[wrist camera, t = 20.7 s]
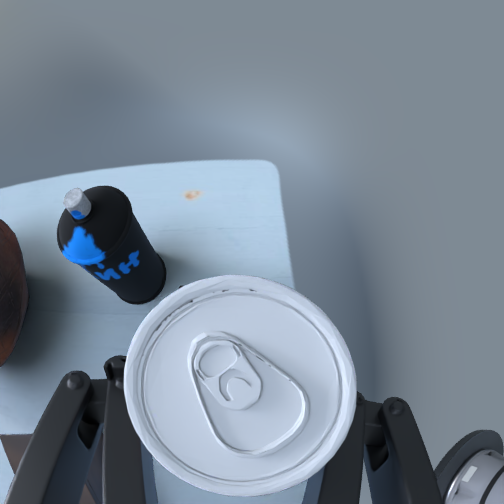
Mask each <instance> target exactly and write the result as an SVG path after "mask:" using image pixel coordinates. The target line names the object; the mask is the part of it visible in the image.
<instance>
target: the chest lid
mask: <svg viewBox="0 0 504 504" xmlns="http://www.w3.org/2000/svg"><path fill="white" fill-rule="evenodd" d="M32 435H33V434H0V439H1V441H2V444H3V447H4V450H5V452H6V455H7V457H8V460H9V462H10V465H11V467H12V469H13V472H14V474H15V473H16V471H17V468H18V466H19V463H20V461H21V459H22V457H23V454H24V452H25V450H26V448H27V446H28V443H29V441H30V439H31V437H32ZM79 504H100V503H99V501H98V499H97V498H96V496H95V494H94V492H93V490H92V488H91V486H90V484H89V482H88V480H87V478H86V482H85V485H84V488H83V492H82V495H81V499H80V502H79Z"/></svg>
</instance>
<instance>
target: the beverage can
mask: <svg viewBox="0 0 504 504" xmlns="http://www.w3.org/2000/svg"><path fill="white" fill-rule="evenodd" d="M356 381H357V380H356V374H355V368H354V364H353V361H352V358H351V355H350V352H349V350H348V347H347V345H346V343H345V340H344V339H343V337H342V336H341V334H340V333H339V331H338V329H337V328H336V326H335V325H334V324H333V323H332V321H331V320H330V319H329V318H328V316H327V315H326V314H325V313H324V312H323V311H322V310H321V309H320V308H319V307H318V306H316V305H315V304H314V303H313V302H312V301H310V300H309V299H308V298H307V297H305V296H304V295H302V294H300V293H299V292H297V291H295V290H294V289H292V288H290V287H287V286H285V285H283V284H281V283H278V282H275V281H271V280H268V279H265V278H260V277H255V276H246V275H222V276H216V277H212V278H207V279H202V280H198V281H196V282H193V283H191V284H188V285H185V286H183V287H181V288H180V289H178V290H176V291H175V292H173V293H172V294H170V295H169V296H167V297H166V298H164V299H163V300H162V301H161V302H160V303H159V304H158V305H157V306H156V307H155V308H154V309H152V310H151V311H150V312H149V314H148V315H147V316H146V318H145V319H144V320H143V322H142V323H141V324H140V326H139V327H138V329H137V331H136V333H135V335H134V337H133V339H132V342H131V345H130V347H129V350H128V354H127V358H126V363H125V368H124V393H125V399H126V404H127V409H128V413H129V416H130V418H131V421H132V424H133V426H134V429H135V430H136V432H137V434H138V435H139V437H140V439H141V440H142V442H143V444H144V445H145V447H146V448H147V450H148V451H149V452H150V453H151V454H152V455H153V456H154V457H155V459H156V460H157V461H158V462H159V463H160V464H161V465H162V466H164V467H165V468H166V469H167V470H168V471H170V472H171V473H173V474H174V475H175V476H177V477H178V478H180V479H181V480H183V481H185V482H187V483H189V484H191V485H193V486H195V487H198V488H200V489H203V490H206V491H209V492H213V493H218V494H222V495H227V496H241V497H253V496H261V495H267V494H272V493H277V492H280V491H283V490H285V489H288V488H290V487H293V486H295V485H298V484H300V483H301V482H303V481H305V480H307V479H308V478H310V477H311V476H312V475H314V474H315V473H317V472H318V471H319V470H320V469H321V468H322V467H323V466H324V465H325V464H326V463H327V462H328V461H329V460H330V459H331V458H332V457H333V456H334V455H335V453H336V452H337V450H338V449H339V447H340V446H341V444H342V443H343V441H344V440H345V438H346V436H347V433H348V431H349V428H350V426H351V423H352V421H353V417H354V413H355V408H356V397H357V382H356Z"/></svg>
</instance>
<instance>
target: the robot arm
mask: <svg viewBox="0 0 504 504" xmlns="http://www.w3.org/2000/svg"><path fill="white" fill-rule="evenodd" d="M181 287H183V286H180V287H179V289H180V288H181ZM126 358H127V356H114V357H112V358H110V359H108V360H107V361H106V362H105V365H104V370H105V373H106V376H107V379H90V377H89V376H88V375H87V374H86V373H84V372H82V371H72V372H69V373H68V374H66V375H65V376H64V377H63V379H62V380H61V382H60V384H59V386H58V387H57V389H56V391H55V393H54V395H53V396H52V398H51V400H50V402H49V404H48V406H47V408H46V409H45V411H44V413H43V415H42V417H41V419H40V421H39V423H38V425H37V427H36V429H35V431H34V433H33V435H32V437H31V439H30V441H29V443H28V446H27V448H26V450H25V452H24V454H23V457H22V459H21V461H20V463H19V466H18V468H17V471H16V473H15V475H14V478H13V480H12V483H11V486H10V488H9V491H8V494H7V496H6V499H5V502H4V504H79V502H80V499H81V495H82V492H83V488H84V485H85V482H86V478H87V475H88V472H89V469H90V466H91V462H92V459H93V456H94V453H95V450H96V447H97V444H98V442H99V439H100V436H101V433H102V430H103V427H104V432H103V455H102V490H103V504H158V501H157V494H156V487H155V479H154V470H153V460H152V454H151V453H150V452H149V451H148V450H147V448H146V447H145V445H144V444H143V442H142V440H141V439H140V437H139V435H138V434H137V432H136V430H135V429H134V426H133V424H132V421H131V418H130V416H129V413H128V409H127V404H126V399H125V393H124V368H125V363H126ZM363 457H364V462H365V466H366V472H367V476H368V482H369V487H370V492H371V498H372V503H373V504H504V457H503V456H502V455H501V454H499V453H498V452H496V451H494V450H492V449H480V450H478V451H476V452H474V453H473V454H472V455H470V456H469V457H468V458H467V459H466V460H465V461H464V462H463V463H462V464H461V466H460V467H459V468H458V470H457V471H456V472H455V474H454V475H453V477H452V479H451V480H450V482H449V484H448V486H447V488H446V490H445V493H444V496H443V500H442V497H441V493H440V490H439V487H438V483H437V480H436V477H435V474H434V471H433V468H432V465H431V462H430V459H429V456H428V454H427V451H426V448H425V445H424V442H423V440H422V437H421V435H420V432H419V429H418V427H417V424H416V421H415V419H414V416H413V414H412V411H411V409H410V407H409V405H408V404H407V402H405V401H404V400H403V399H401V398H398V397H391V398H388V399H386V400H385V401H384V403H383V404H382V403H376V402H370V401H367V400H365V399H364V397H363V396H362V394H361V393H359V392H358V391H357V397H356V408H355V413H354V417H353V421H352V423H351V426H350V428H349V431H348V433H347V436H346V438H345V440H344V441H343V443H342V444H341V446H340V447H339V449H338V450H337V452H336V453H335V455H334V456H333V457H332V458H331V459H330V460H329V461H328V462H327V463H326V464H325V465H324V466H323V467H322V468H321V469H320V470H319V471H318V472H317V473H315V474H314V475H312V476H311V477H310V478H308V482H307V486H306V490H305V494H304V498H303V502H302V504H359V498H360V490H361V480H362V470H363Z"/></svg>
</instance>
